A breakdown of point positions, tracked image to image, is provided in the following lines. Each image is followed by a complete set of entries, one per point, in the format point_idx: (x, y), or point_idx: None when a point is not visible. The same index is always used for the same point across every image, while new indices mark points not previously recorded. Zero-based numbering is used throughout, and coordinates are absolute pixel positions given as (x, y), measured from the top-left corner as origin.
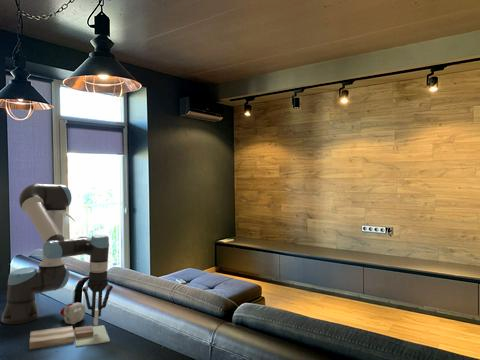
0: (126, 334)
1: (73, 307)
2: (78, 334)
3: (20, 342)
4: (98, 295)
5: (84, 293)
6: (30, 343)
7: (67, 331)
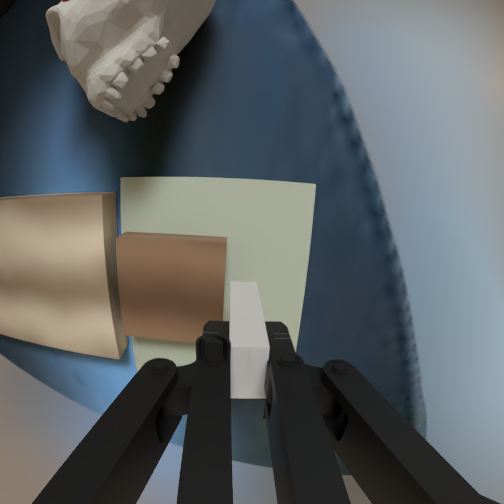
0: (378, 346)
1: (76, 48)
2: (139, 334)
3: None
4: (291, 488)
5: (38, 497)
6: None
7: (79, 280)
